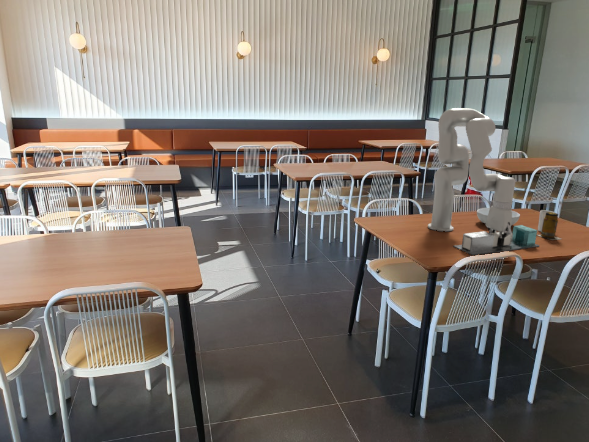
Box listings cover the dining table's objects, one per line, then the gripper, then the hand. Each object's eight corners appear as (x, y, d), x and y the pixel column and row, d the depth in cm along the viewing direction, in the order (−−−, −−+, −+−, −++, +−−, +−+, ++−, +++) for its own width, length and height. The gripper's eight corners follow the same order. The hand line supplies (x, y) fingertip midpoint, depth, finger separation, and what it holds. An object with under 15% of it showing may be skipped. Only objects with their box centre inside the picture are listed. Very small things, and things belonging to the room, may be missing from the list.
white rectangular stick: (469, 249, 189) (471, 239, 188) (463, 247, 193) (464, 236, 191) (511, 244, 198) (512, 233, 196) (504, 241, 201) (505, 231, 200)
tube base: (472, 255, 185) (474, 239, 183) (453, 246, 196) (455, 231, 194) (539, 246, 199) (542, 231, 197) (517, 238, 210) (520, 223, 208)
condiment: (546, 234, 218) (551, 211, 215) (562, 239, 211) (566, 215, 208) (536, 235, 216) (540, 212, 213) (551, 240, 208) (555, 216, 205)
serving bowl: (480, 217, 247) (482, 205, 246) (521, 224, 236) (523, 211, 234) (470, 225, 231) (472, 212, 229) (513, 232, 219) (516, 219, 218)
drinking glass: (550, 233, 220) (554, 214, 217) (535, 230, 223) (539, 212, 221) (552, 230, 225) (555, 211, 222) (537, 228, 229) (541, 209, 226)
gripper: (481, 201, 198) (475, 239, 203) (511, 210, 183) (504, 251, 188) (493, 200, 201) (488, 237, 206) (524, 208, 186) (517, 249, 191)
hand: (496, 243), depth 197 cm, fingers closed on white rectangular stick, 4 cm apart
